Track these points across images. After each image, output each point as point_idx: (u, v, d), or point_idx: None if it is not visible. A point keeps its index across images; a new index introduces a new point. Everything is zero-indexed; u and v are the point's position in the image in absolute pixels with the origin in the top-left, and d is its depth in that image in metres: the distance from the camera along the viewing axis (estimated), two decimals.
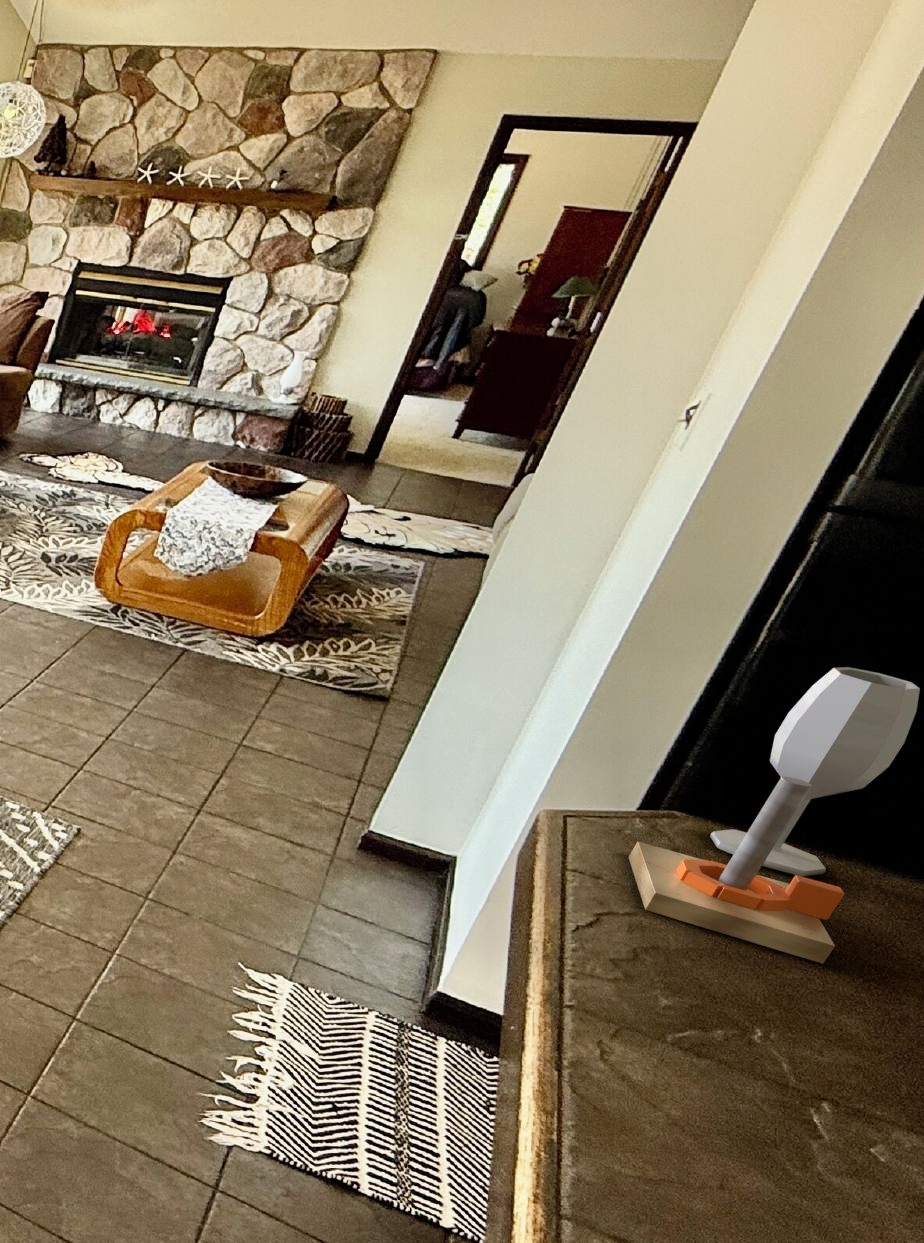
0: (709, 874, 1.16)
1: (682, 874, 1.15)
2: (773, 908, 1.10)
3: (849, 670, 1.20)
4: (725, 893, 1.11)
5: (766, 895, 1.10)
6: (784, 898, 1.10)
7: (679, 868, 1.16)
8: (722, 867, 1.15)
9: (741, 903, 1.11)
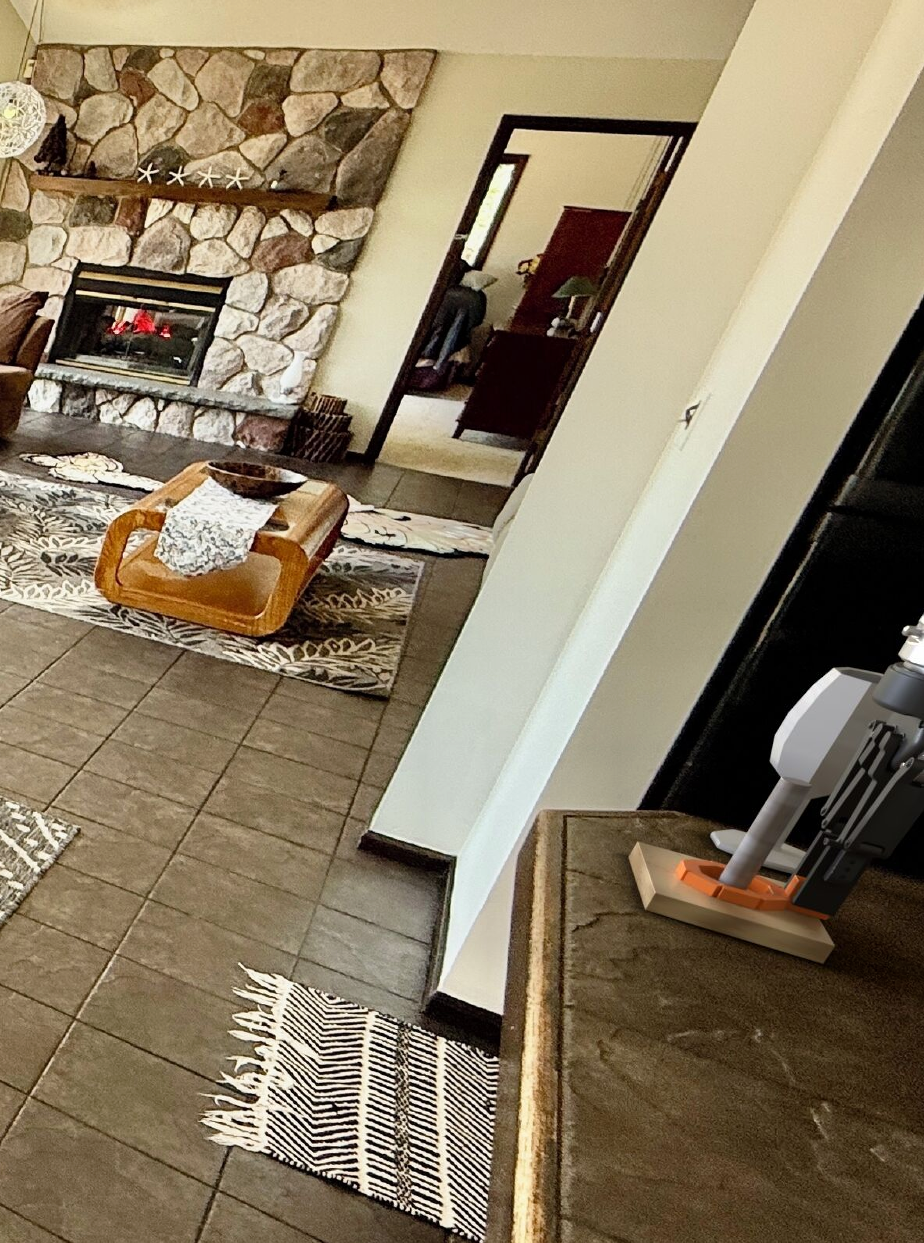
0: (709, 874, 1.16)
1: (682, 874, 1.15)
2: (772, 907, 1.10)
3: (849, 670, 1.20)
4: (725, 893, 1.11)
5: (766, 895, 1.11)
6: (784, 898, 1.10)
7: (679, 868, 1.16)
8: (722, 867, 1.15)
9: (741, 903, 1.11)
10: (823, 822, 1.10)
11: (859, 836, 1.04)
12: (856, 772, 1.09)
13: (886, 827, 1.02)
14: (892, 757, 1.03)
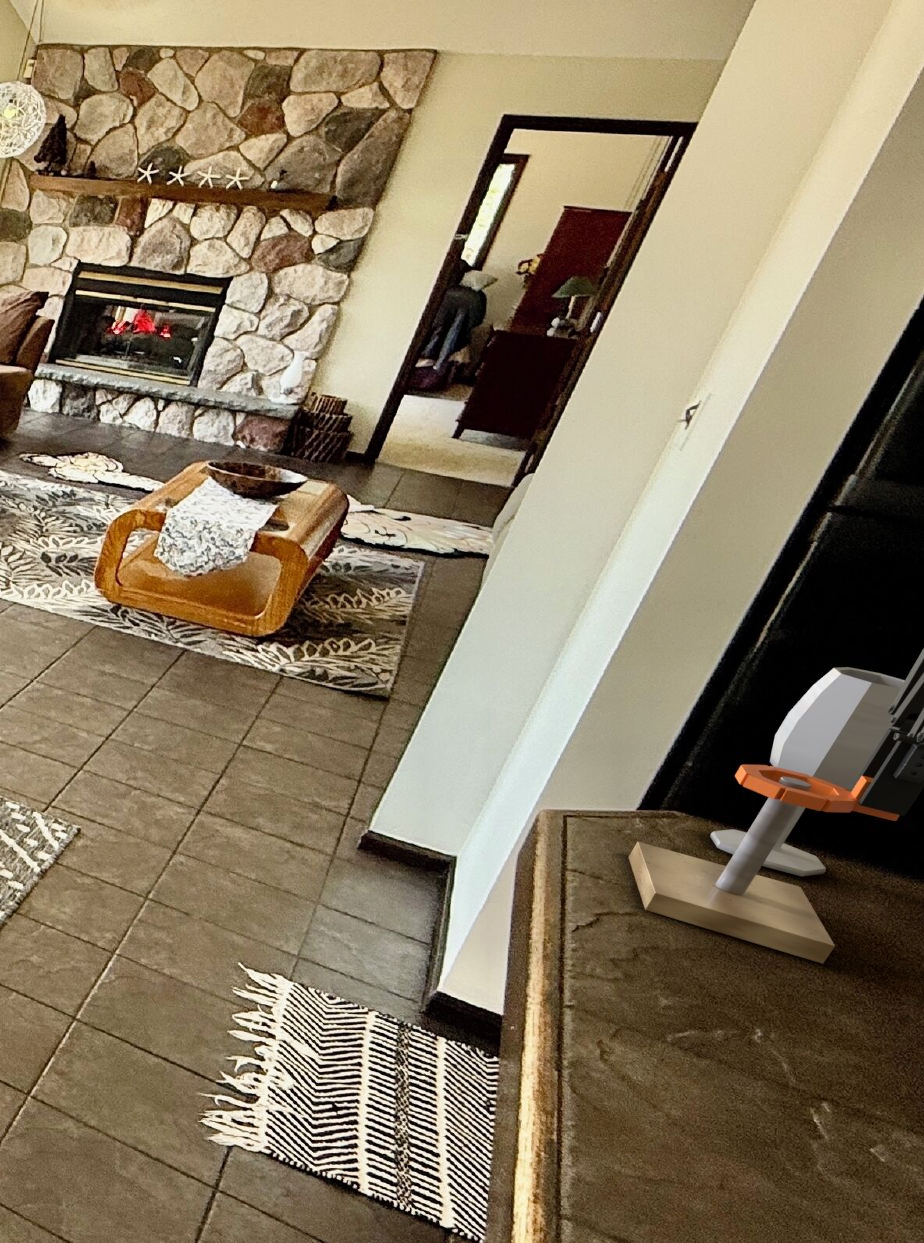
0: (769, 779, 1.11)
1: (741, 778, 1.10)
2: (839, 809, 1.06)
3: (849, 670, 1.20)
4: (788, 795, 1.07)
5: (831, 796, 1.06)
6: (850, 799, 1.06)
7: (738, 773, 1.11)
8: (783, 771, 1.11)
9: (805, 805, 1.06)
10: (891, 719, 1.06)
11: None
12: None
13: None
14: None
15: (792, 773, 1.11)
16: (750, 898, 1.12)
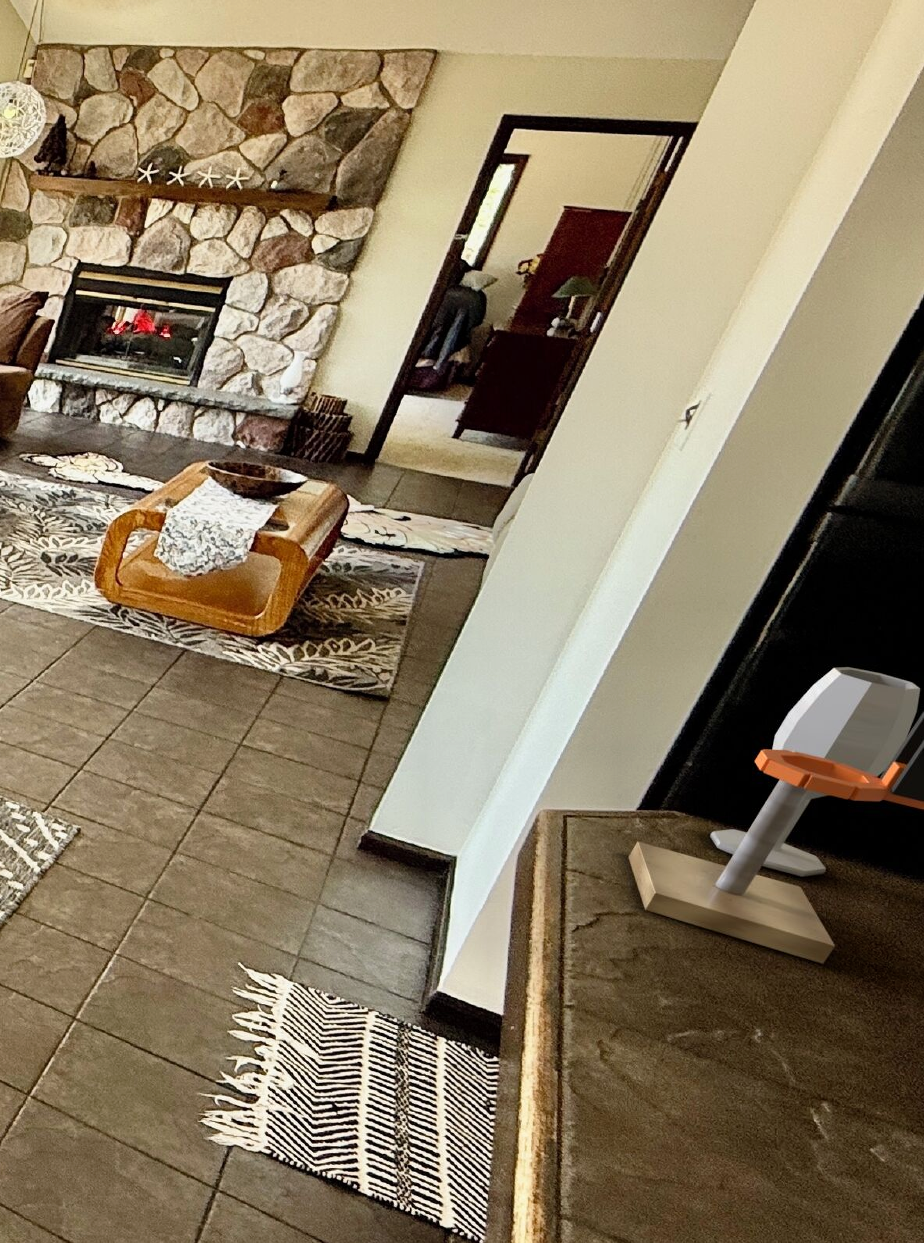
0: None
1: (762, 764, 1.02)
2: (868, 797, 0.97)
3: (849, 670, 1.20)
4: (813, 782, 0.98)
5: (860, 783, 0.97)
6: (881, 787, 0.97)
7: (758, 759, 1.03)
8: (807, 757, 1.02)
9: (832, 793, 0.98)
10: None
11: None
12: None
13: None
14: None
15: (817, 759, 1.02)
16: (750, 898, 1.12)
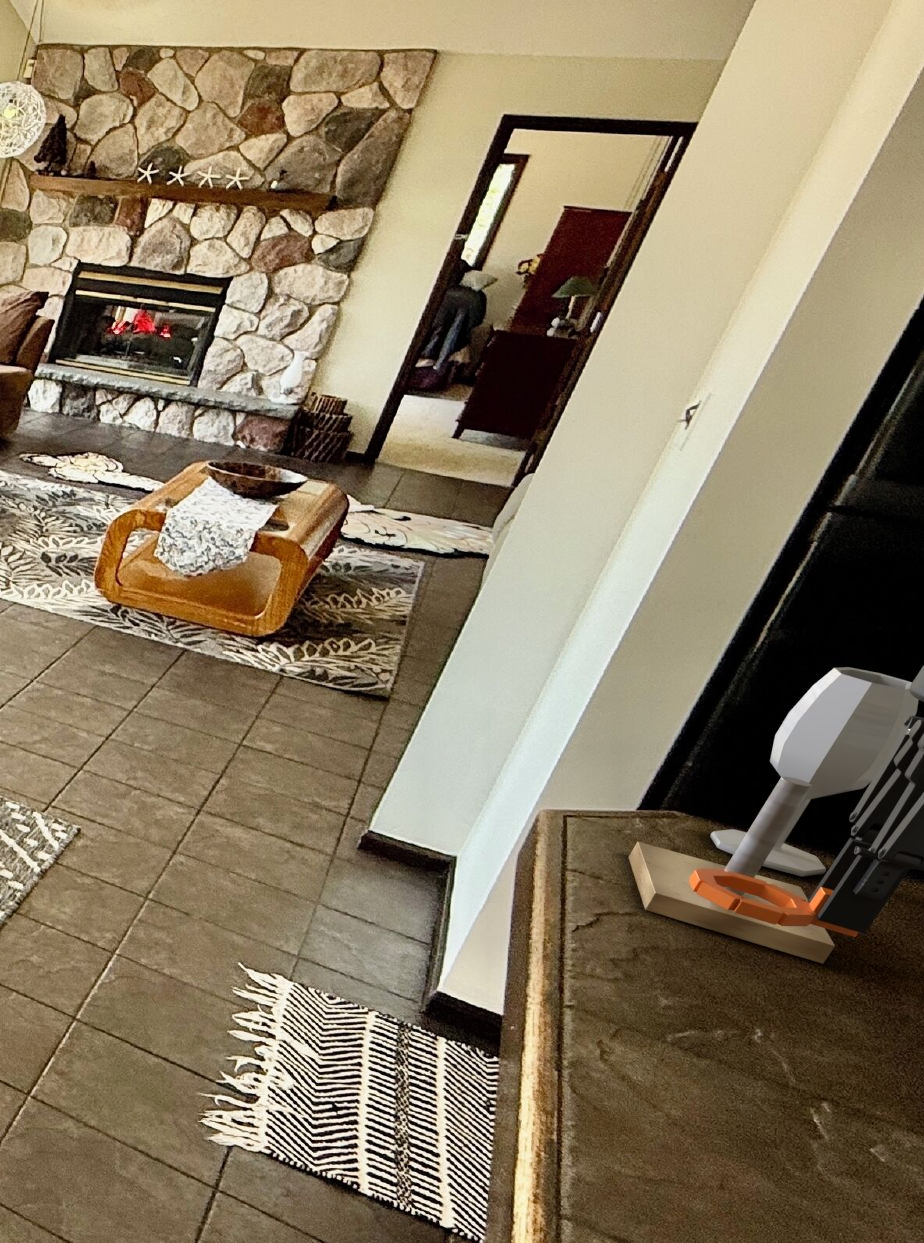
0: (724, 885, 1.05)
1: (695, 885, 1.04)
2: (795, 923, 1.00)
3: (849, 670, 1.20)
4: (743, 906, 1.01)
5: (788, 909, 1.00)
6: (808, 912, 1.00)
7: (691, 878, 1.05)
8: (739, 877, 1.05)
9: (760, 918, 1.00)
10: (853, 829, 1.00)
11: (895, 845, 0.93)
12: (890, 774, 0.98)
13: None
14: None
15: (748, 879, 1.04)
16: (750, 898, 1.12)
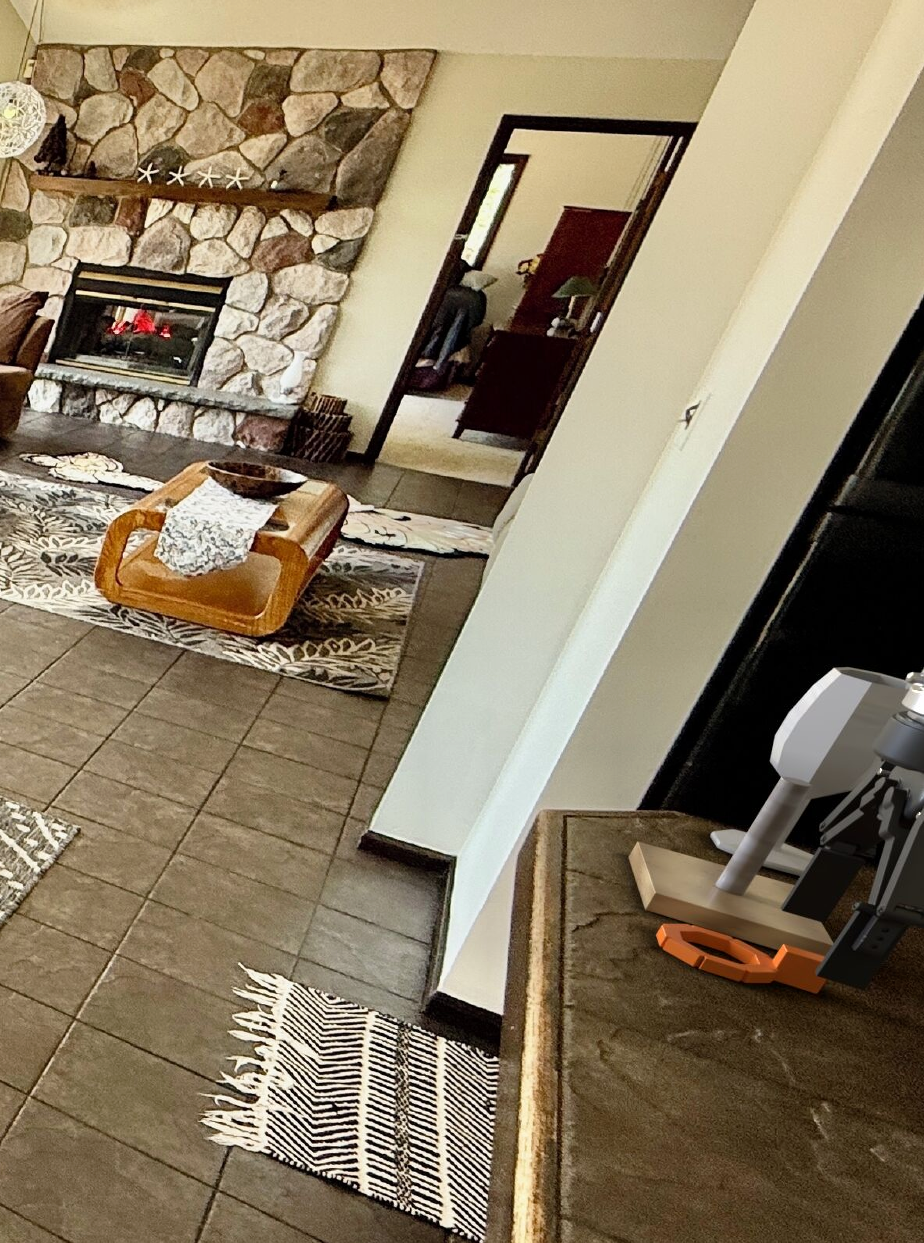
0: (691, 940, 1.08)
1: (662, 941, 1.06)
2: (758, 980, 1.02)
3: (849, 670, 1.20)
4: (707, 963, 1.03)
5: (751, 966, 1.02)
6: (771, 969, 1.02)
7: (659, 933, 1.08)
8: (705, 933, 1.07)
9: (724, 974, 1.03)
10: (821, 838, 1.04)
11: (893, 896, 0.91)
12: (858, 801, 1.02)
13: (920, 884, 0.90)
14: None
15: (714, 935, 1.07)
16: (750, 898, 1.12)
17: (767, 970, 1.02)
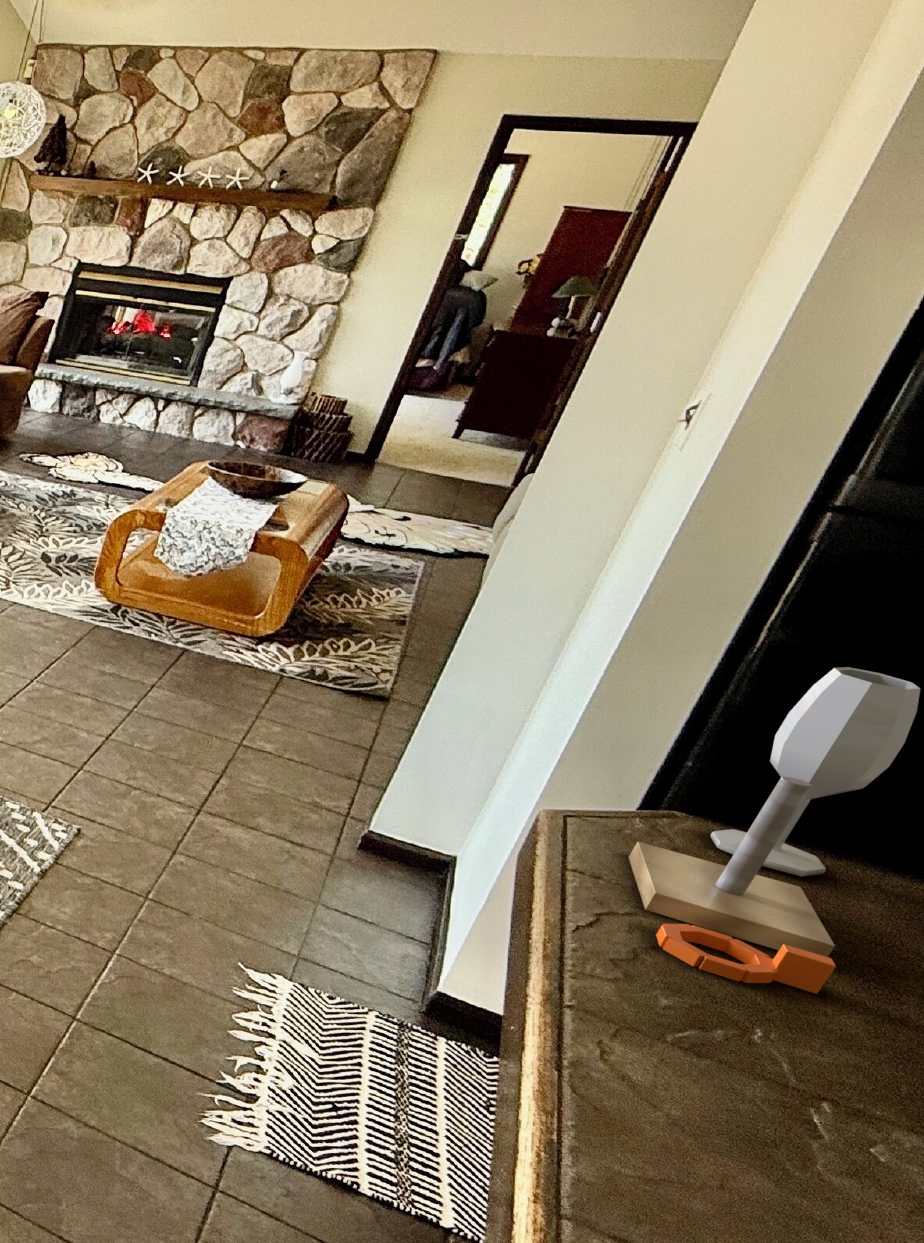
0: (691, 940, 1.08)
1: (662, 941, 1.06)
2: (758, 980, 1.02)
3: (849, 670, 1.20)
4: (707, 963, 1.03)
5: (751, 966, 1.02)
6: (771, 969, 1.02)
7: (659, 933, 1.08)
8: (705, 933, 1.07)
9: (724, 974, 1.03)
10: None
11: None
12: None
13: None
14: None
15: (714, 935, 1.07)
16: (750, 898, 1.12)
17: (767, 970, 1.02)
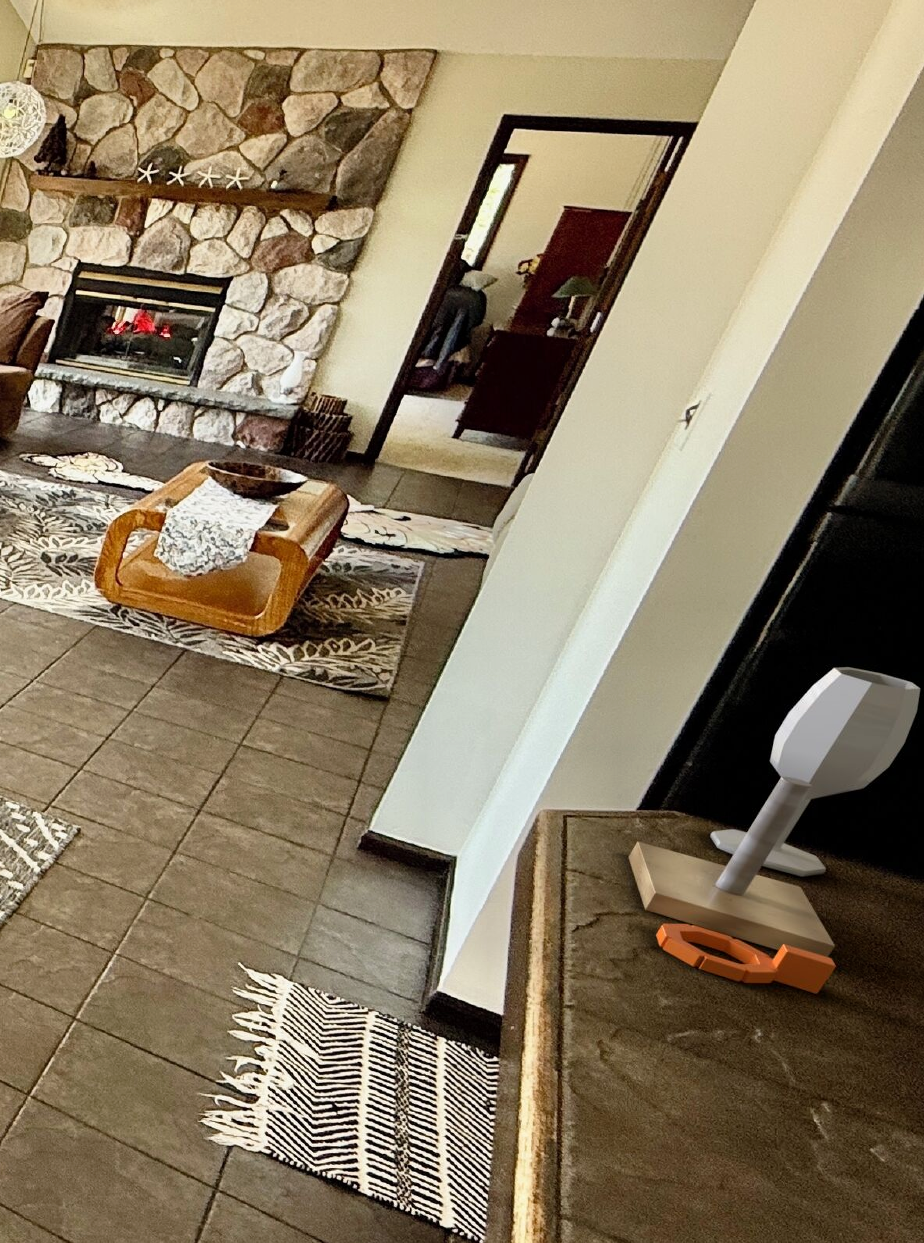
0: (691, 940, 1.08)
1: (662, 941, 1.06)
2: (758, 980, 1.02)
3: (849, 670, 1.20)
4: (707, 963, 1.03)
5: (751, 966, 1.02)
6: (771, 969, 1.02)
7: (659, 933, 1.08)
8: (705, 933, 1.07)
9: (724, 974, 1.03)
10: None
11: None
12: None
13: None
14: None
15: (714, 935, 1.07)
16: (750, 898, 1.12)
17: (767, 970, 1.02)
